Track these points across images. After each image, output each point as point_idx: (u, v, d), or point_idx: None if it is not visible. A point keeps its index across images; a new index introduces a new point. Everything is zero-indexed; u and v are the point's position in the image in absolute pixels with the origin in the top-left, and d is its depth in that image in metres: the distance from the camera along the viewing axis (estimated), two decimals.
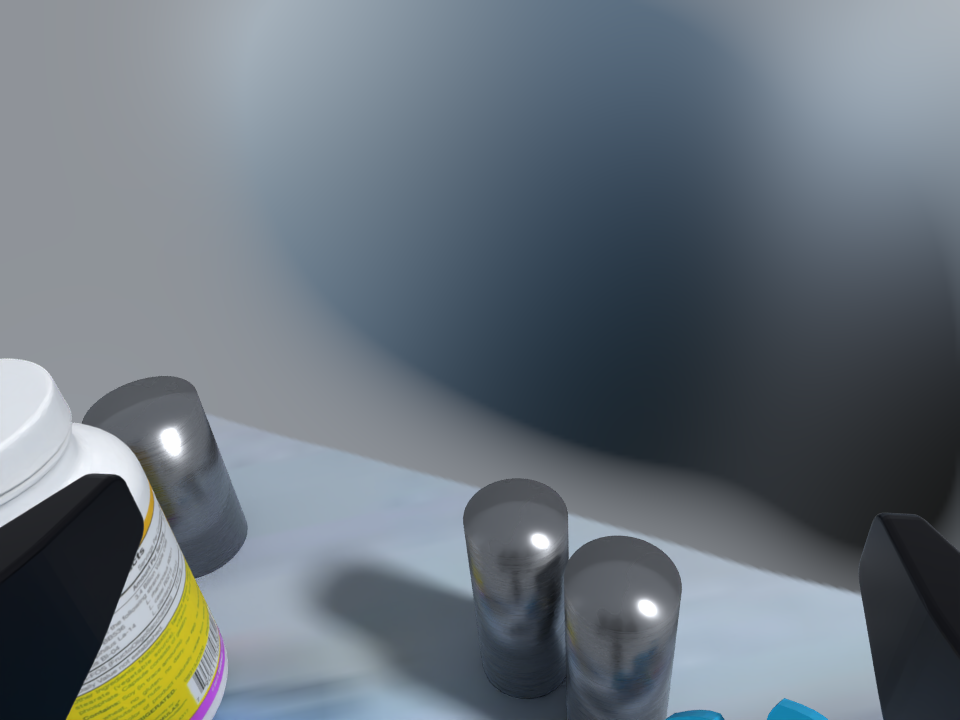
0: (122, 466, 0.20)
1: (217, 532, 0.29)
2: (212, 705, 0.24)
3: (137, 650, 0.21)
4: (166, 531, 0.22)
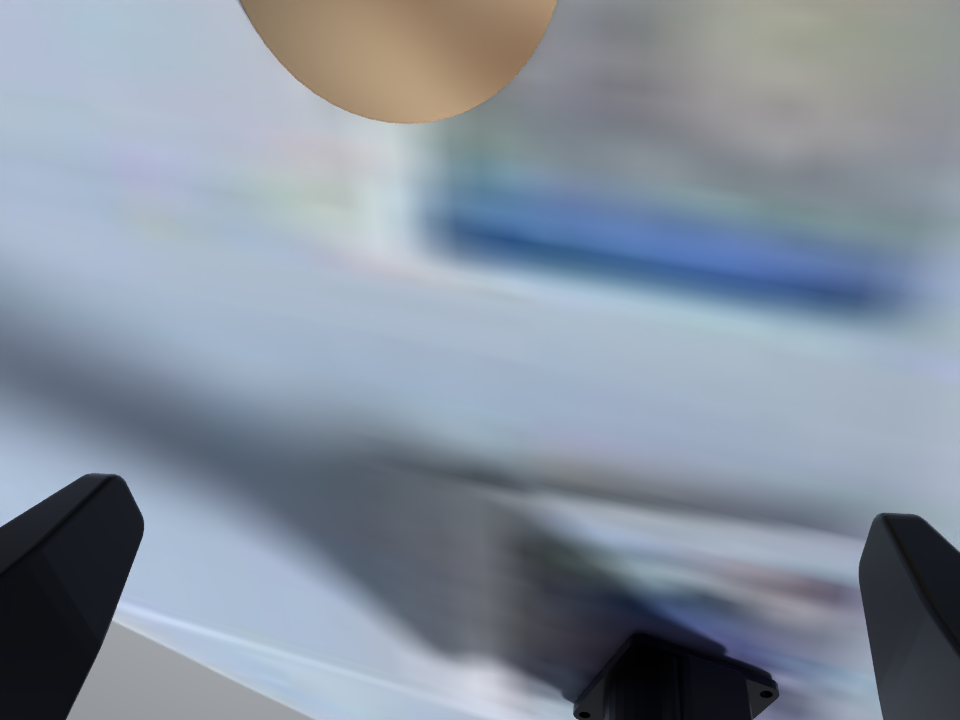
0: None
1: None
2: None
3: None
4: None
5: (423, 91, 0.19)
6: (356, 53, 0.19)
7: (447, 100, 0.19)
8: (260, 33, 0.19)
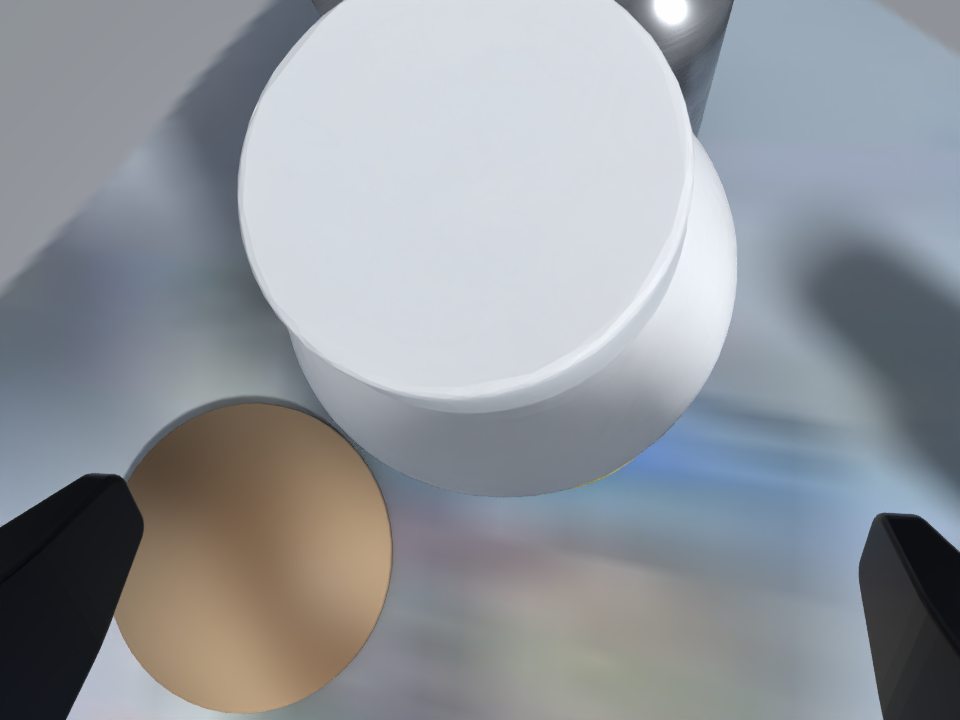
0: (722, 237, 0.10)
1: None
2: None
3: None
4: None
5: (246, 681, 0.20)
6: (193, 636, 0.20)
7: (266, 694, 0.19)
8: None
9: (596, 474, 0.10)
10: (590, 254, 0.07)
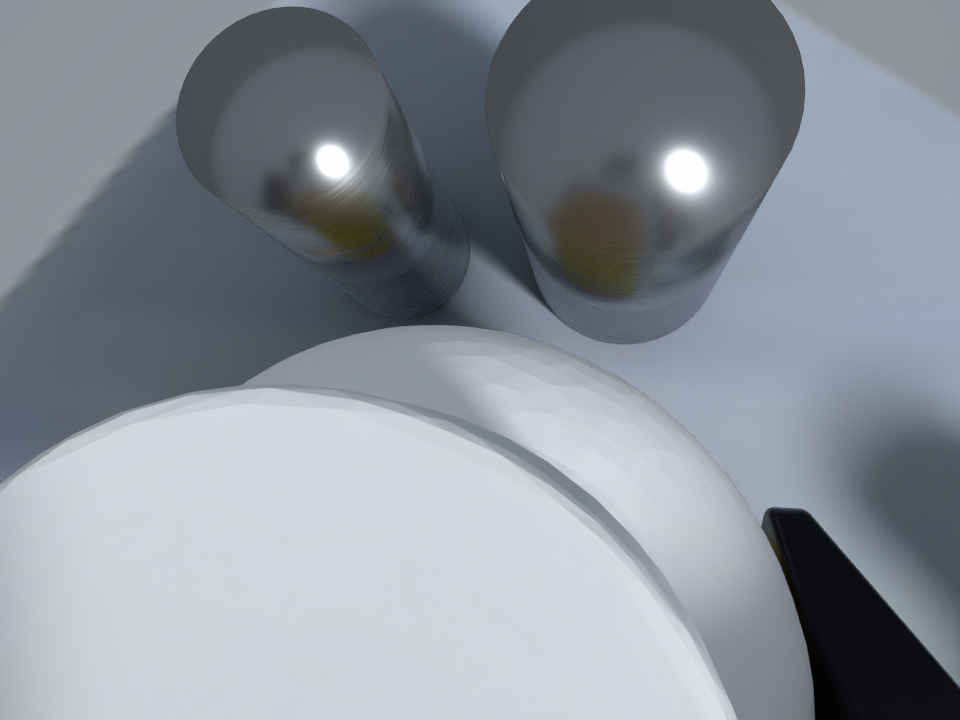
0: None
1: (692, 306, 0.14)
2: None
3: None
4: None
5: None
6: None
7: None
8: None
9: None
10: None
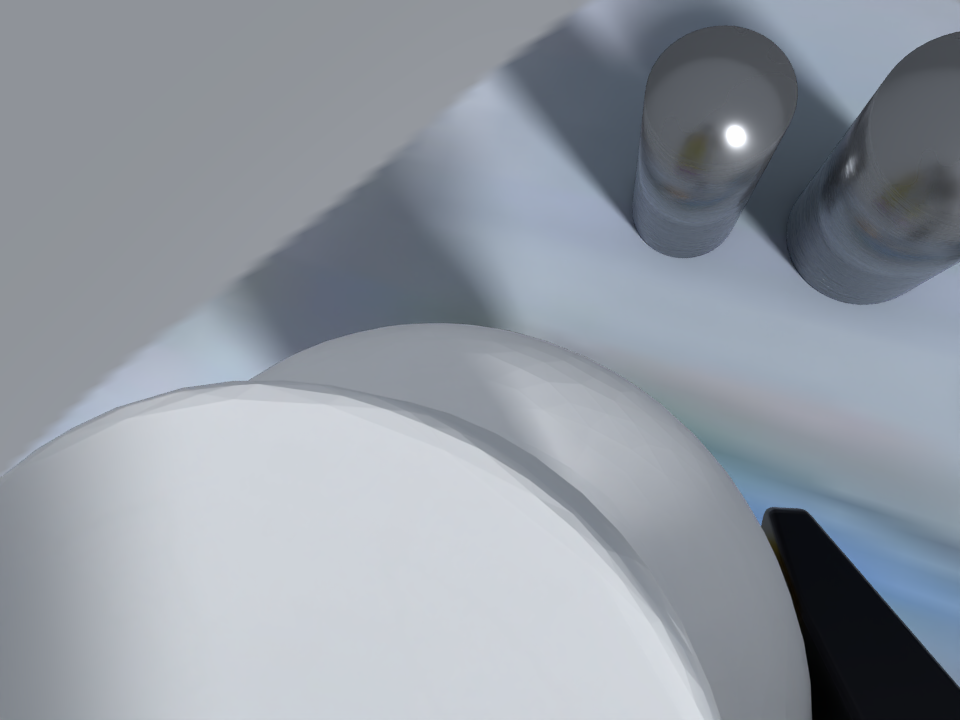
0: None
1: (924, 281, 0.19)
2: None
3: None
4: None
5: None
6: None
7: None
8: None
9: None
10: None
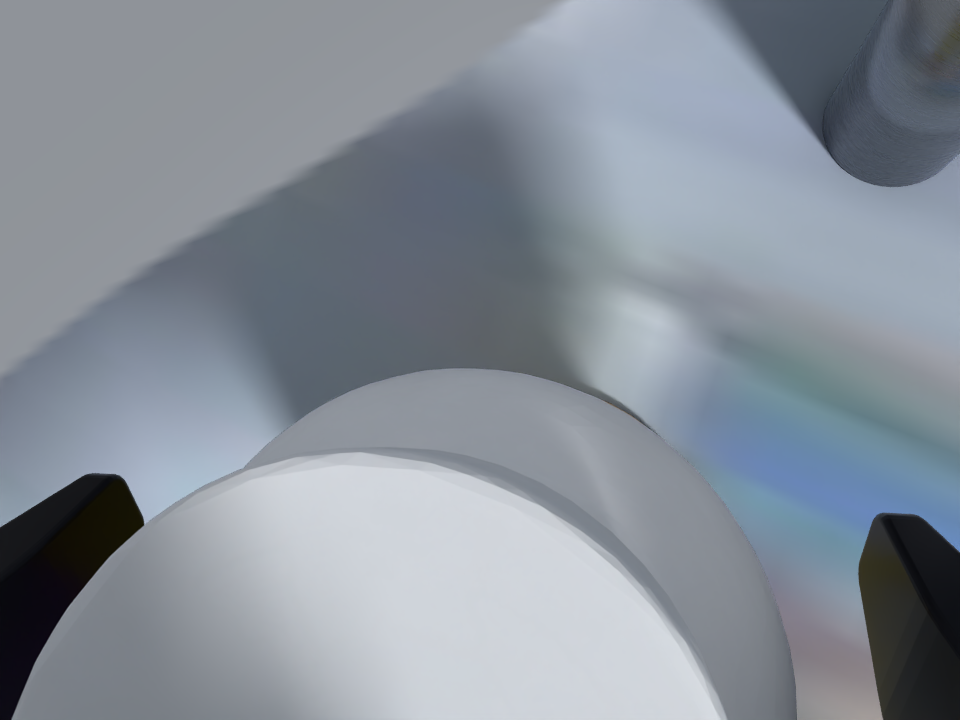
0: (779, 717, 0.07)
1: None
2: None
3: None
4: None
5: None
6: None
7: None
8: None
9: None
10: None
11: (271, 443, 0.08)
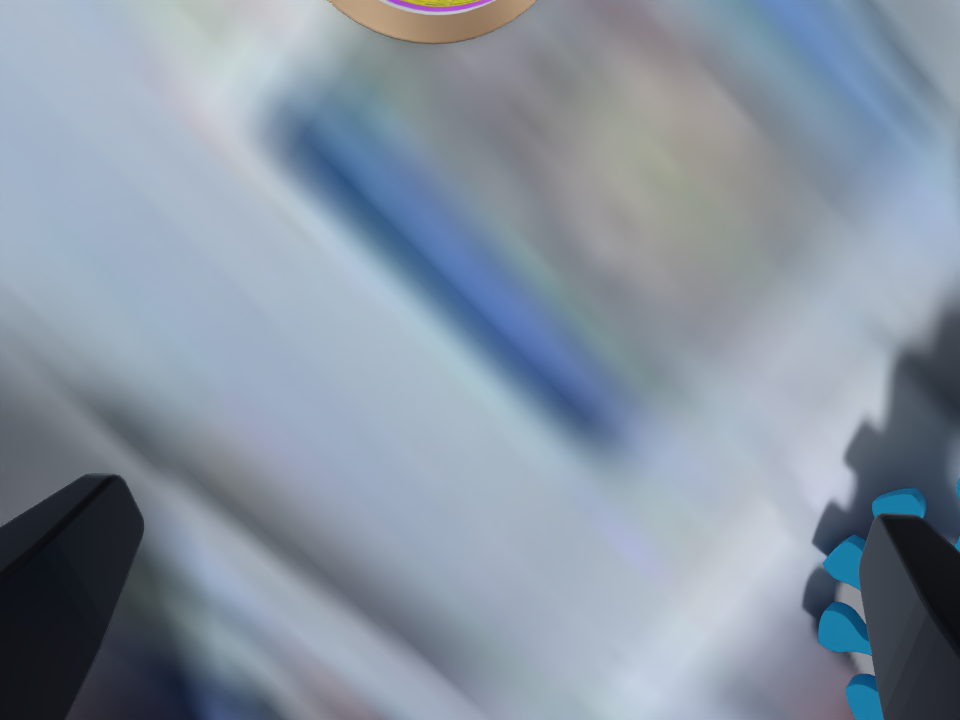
0: None
1: None
2: None
3: None
4: None
5: None
6: None
7: (385, 15, 0.19)
8: None
9: None
10: None
11: None
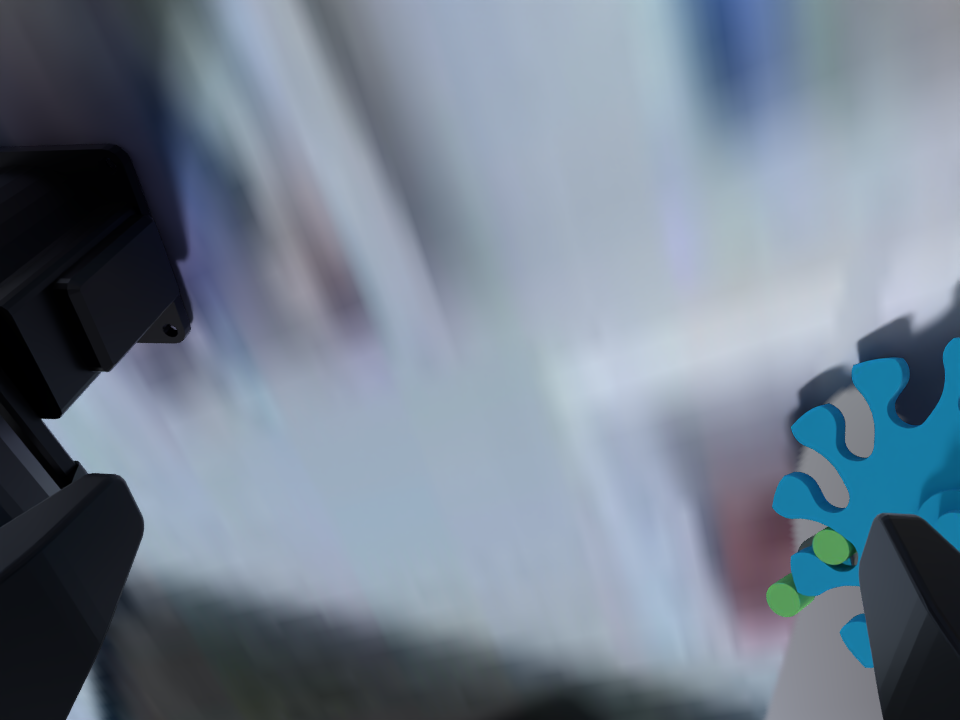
0: None
1: None
2: None
3: None
4: None
5: None
6: None
7: None
8: None
9: None
10: None
11: None
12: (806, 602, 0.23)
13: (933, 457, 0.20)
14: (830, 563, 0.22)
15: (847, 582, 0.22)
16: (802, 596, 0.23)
